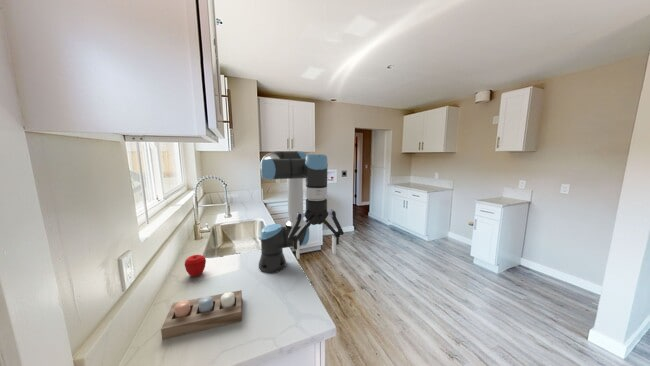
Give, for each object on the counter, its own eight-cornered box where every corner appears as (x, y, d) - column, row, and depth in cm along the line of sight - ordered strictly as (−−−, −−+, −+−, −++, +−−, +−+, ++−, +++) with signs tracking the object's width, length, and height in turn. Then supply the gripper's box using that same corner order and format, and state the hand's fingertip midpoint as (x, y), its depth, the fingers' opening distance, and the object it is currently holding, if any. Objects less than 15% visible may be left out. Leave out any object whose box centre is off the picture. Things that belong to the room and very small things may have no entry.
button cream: (222, 304, 93) (221, 293, 92) (235, 301, 94) (234, 291, 94) (221, 312, 88) (220, 301, 87) (234, 309, 90) (234, 298, 89)
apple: (210, 272, 120) (209, 253, 119) (193, 281, 112) (191, 261, 110) (199, 267, 125) (197, 249, 123) (181, 276, 116) (179, 256, 115)
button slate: (200, 309, 90) (199, 297, 89) (214, 306, 92) (213, 295, 91) (198, 317, 86) (197, 305, 85) (212, 314, 87) (211, 303, 86)
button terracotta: (177, 313, 88) (176, 302, 87) (192, 310, 89) (191, 299, 88) (173, 323, 83) (172, 310, 82) (189, 319, 85) (188, 307, 84)
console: (174, 311, 91) (173, 303, 91) (241, 298, 100) (241, 290, 99) (162, 339, 78) (160, 329, 78) (241, 320, 87) (240, 311, 86)
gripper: (281, 203, 72) (282, 264, 75) (353, 198, 79) (351, 255, 82) (279, 198, 79) (280, 254, 82) (345, 194, 86) (344, 246, 89)
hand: (316, 255), depth 82 cm, fingers open, 13 cm apart
